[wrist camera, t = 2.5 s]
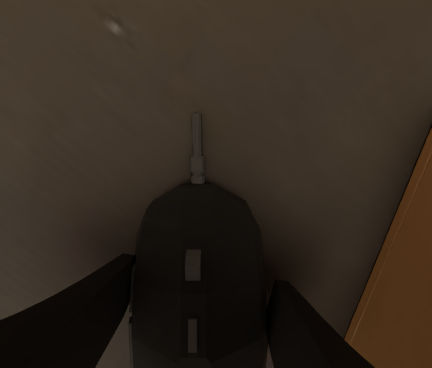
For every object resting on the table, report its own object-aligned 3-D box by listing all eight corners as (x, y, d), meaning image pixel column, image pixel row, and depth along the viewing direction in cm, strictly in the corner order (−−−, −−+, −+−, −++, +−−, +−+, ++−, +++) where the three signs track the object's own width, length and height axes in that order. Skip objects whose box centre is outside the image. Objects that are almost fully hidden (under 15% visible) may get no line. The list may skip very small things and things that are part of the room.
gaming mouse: (272, 112, 9) (308, 102, 5) (258, 376, 13) (274, 482, 9) (123, 114, 9) (55, 105, 6) (151, 375, 13) (123, 479, 9)
